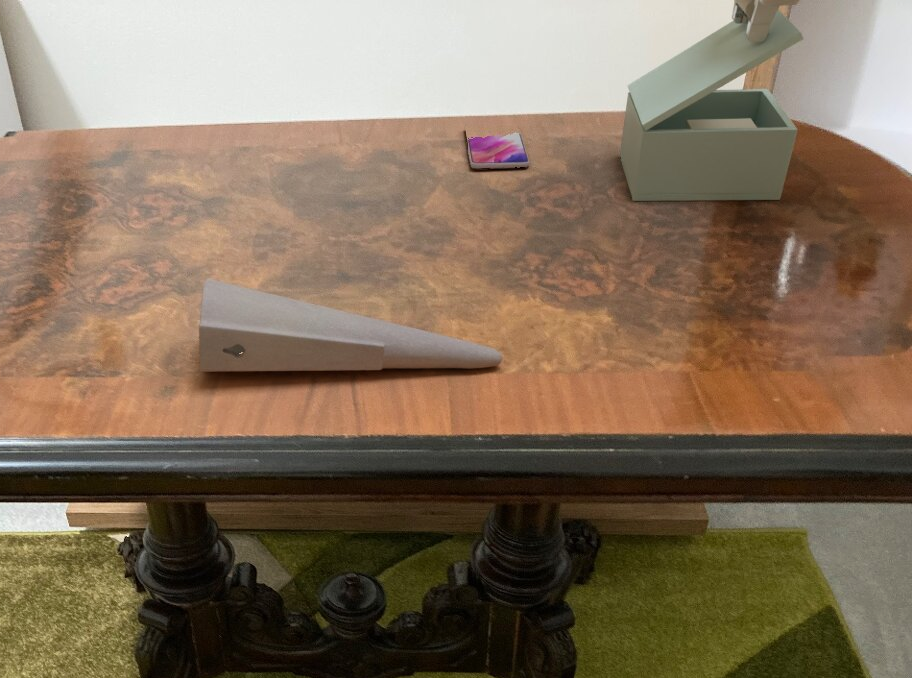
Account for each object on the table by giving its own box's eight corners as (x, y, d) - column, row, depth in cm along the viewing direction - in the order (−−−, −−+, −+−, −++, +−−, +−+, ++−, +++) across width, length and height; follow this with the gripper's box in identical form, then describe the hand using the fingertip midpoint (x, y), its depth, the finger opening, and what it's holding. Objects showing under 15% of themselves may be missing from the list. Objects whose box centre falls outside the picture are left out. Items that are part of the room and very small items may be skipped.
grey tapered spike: (496, 277, 83) (208, 262, 82) (511, 325, 76) (198, 308, 75) (482, 351, 87) (210, 337, 87) (495, 402, 81) (200, 387, 80)
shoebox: (752, 154, 112) (767, 88, 107) (780, 200, 101) (798, 129, 96) (619, 156, 114) (628, 92, 109) (632, 201, 104) (643, 132, 99)
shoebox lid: (771, 5, 102) (754, -35, 99) (803, 38, 91) (785, -5, 89) (630, 91, 109) (611, 55, 107) (645, 131, 99) (625, 92, 97)
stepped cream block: (745, 162, 108) (755, 117, 105) (754, 177, 104) (764, 131, 101) (647, 163, 110) (654, 119, 107) (653, 178, 106) (660, 133, 103)
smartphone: (517, 120, 124) (530, 162, 112) (517, 127, 125) (529, 169, 113) (463, 122, 125) (470, 163, 113) (463, 128, 125) (470, 170, 113)
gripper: (849, -106, 80) (805, 59, 89) (790, -137, 96) (757, 6, 105) (773, -103, 81) (736, 60, 90) (727, -135, 97) (699, 7, 106)
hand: (747, 30), depth 98 cm, fingers closed on shoebox lid, 6 cm apart
